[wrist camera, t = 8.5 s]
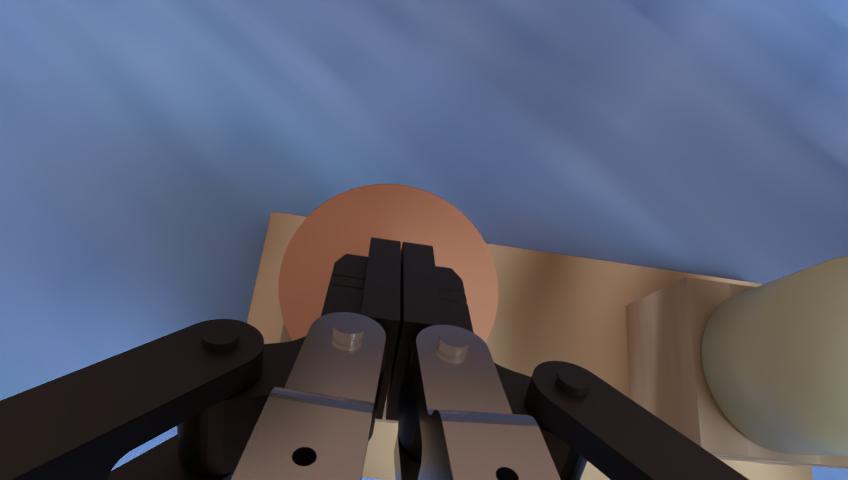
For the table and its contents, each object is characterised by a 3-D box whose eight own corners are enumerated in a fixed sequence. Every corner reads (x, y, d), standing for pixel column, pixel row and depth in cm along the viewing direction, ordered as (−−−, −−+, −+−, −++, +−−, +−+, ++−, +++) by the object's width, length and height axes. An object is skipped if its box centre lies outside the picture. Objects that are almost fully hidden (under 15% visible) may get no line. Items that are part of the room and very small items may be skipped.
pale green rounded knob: (776, 318, 23) (945, 270, 16) (797, 460, 21) (999, 468, 14) (652, 300, 22) (778, 244, 16) (661, 444, 20) (809, 446, 14)
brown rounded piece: (454, 272, 21) (503, 200, 15) (442, 420, 19) (492, 409, 13) (312, 252, 21) (300, 168, 14) (284, 402, 19) (256, 382, 12)
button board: (759, 295, 27) (870, 256, 21) (790, 517, 23) (933, 541, 18) (275, 224, 24) (256, 160, 19) (223, 461, 21) (181, 468, 15)
